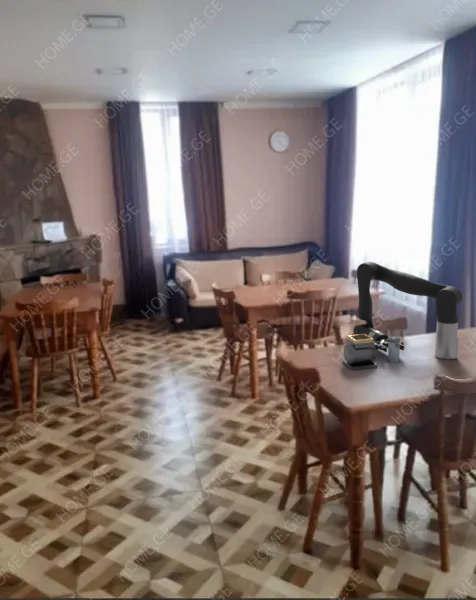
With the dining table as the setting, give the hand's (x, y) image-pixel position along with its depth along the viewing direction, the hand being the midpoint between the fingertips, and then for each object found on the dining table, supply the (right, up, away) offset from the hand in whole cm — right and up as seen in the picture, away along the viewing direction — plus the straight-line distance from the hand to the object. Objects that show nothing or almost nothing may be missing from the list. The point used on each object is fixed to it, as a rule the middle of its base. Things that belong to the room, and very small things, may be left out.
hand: (394, 349), depth 233 cm
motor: (-17, -7, -2) cm, 18 cm away
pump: (0, -6, +2) cm, 6 cm away
